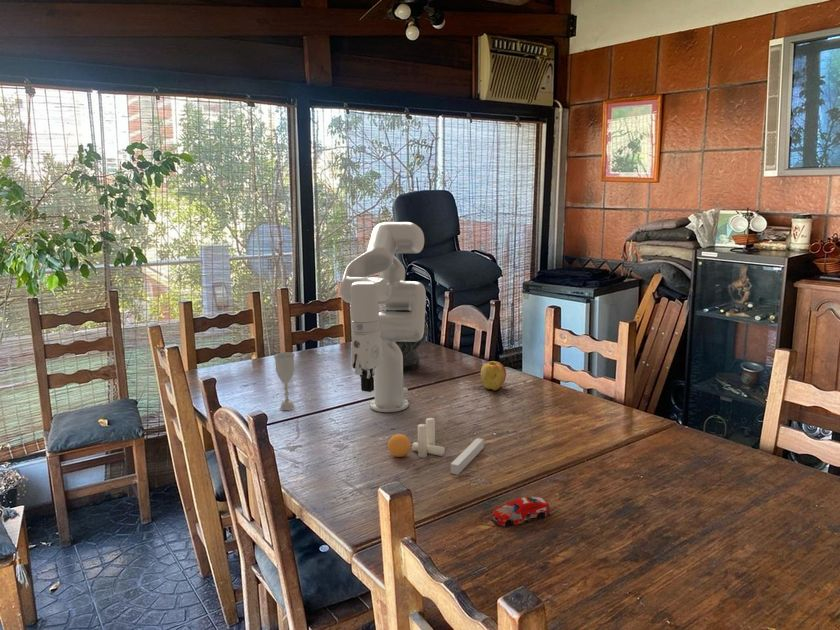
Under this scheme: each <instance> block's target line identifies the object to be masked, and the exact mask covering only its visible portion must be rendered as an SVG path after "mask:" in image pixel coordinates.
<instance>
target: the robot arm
mask: <svg viewBox="0 0 840 630" xmlns="http://www.w3.org/2000/svg"><path fill="white" fill-rule="evenodd" d="M424 245H425V235H424V232H423V230H422V228H421V227H420V226H419V225H417V224H415V223H414V222H410V221H388V222H387V221H386V222H385V221H384V222H380V223H377V224H376V225H375V226H374V227H373V229H372V231H371V234H370V238H369V241H368V245H367V248H366V251H365V252H364V253H362V254H360V255H359V256H357V257H356V258H355V259H353V260H352V261H350V263H348V265H347V266H346V267H345V269H344V273H343V275H342V279H341V283H340V286H339V287H340V290H339V291H340V297H341V299H342V300H343V301H344V302H345V303H348V304H350V311H351V312H350V315H351V316H350V317H351V333H352V335H351V345H350V346H351V348H350V351H351V353H350V354H351V355H350V359H351V367H352V368H353V369H354V375H358V376H359V378H360V385H361V386H360V388H361V391H362V392H366V393H371V392H374V399H373V400H371V401H370V403H369V406H370V409H371V410H373V411H376V412H380V413H397V412H400V411H404V410H405V409H407V408H409V407H408V406H409V401H408V400H407V399H406V398H404V396H405V394H406V393H408V391H409V389H408V388H407V387H404V372H403V355H402V352H401V349H400V348H399V346H398V345H397V344H396V343H395V342H417V341H420V340H421V339H422V337H423V334H424V324H425V321H426V306H427V294H426V293H427V292H426V288H425V285H424V284H423V283H422V282H419V281H416V280H415V281H414V280H413V281H411V280H405V279H406V276H405V275H406V268H405V266H404V265H403V263H402V261H400V259H399V258H398V257H397V256H395V254H419V253H421V252H422V250H423V249H424ZM375 274H379V275H378V276H372V275H375ZM380 308H381V309H383V310H387V311H380ZM390 310H410V311H411V312H389V311H390Z"/></svg>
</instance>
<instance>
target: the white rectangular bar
mask: <svg viewBox="0 0 840 630" xmlns="http://www.w3.org/2000/svg"><path fill="white" fill-rule="evenodd" d="M484 443H485V442H484V438H479V437H476V439H474V440H473V441H472V442H471V443H470V444H469V445H468V446H467V447H466V448H465V449H464V450H463V451H462V452H461V453H460V454H459V455H458V456H457V457H456V458H455V459H454V460H453V461H452V462H450V474H452V475H453V474H454V475H460V473H461V472H462V471H464V469H465V468H466V467H467V466H468V465H469V464H470V463H471V462H472V460H473V459H475V457H477V455H479V453H481V451H482V450H483V449H484V448H485V447H484V446H485V445H484Z"/></svg>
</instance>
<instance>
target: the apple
mask: <svg viewBox="0 0 840 630" xmlns="http://www.w3.org/2000/svg"><path fill="white" fill-rule="evenodd" d="M506 377H507V371H506V368H505V365H504V364H502V363H501V362H499V361H495V360H493V361H492V360H491V361H487V362H486V363H484V364H483V365H482V366H481V369H480V380H481V382H482V385H483V387H485V389H487V390H490V389H492V390H491V391H497V390H499V389H500V388H501V387H502V386H503V385H504V383H505V381H506Z"/></svg>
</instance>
